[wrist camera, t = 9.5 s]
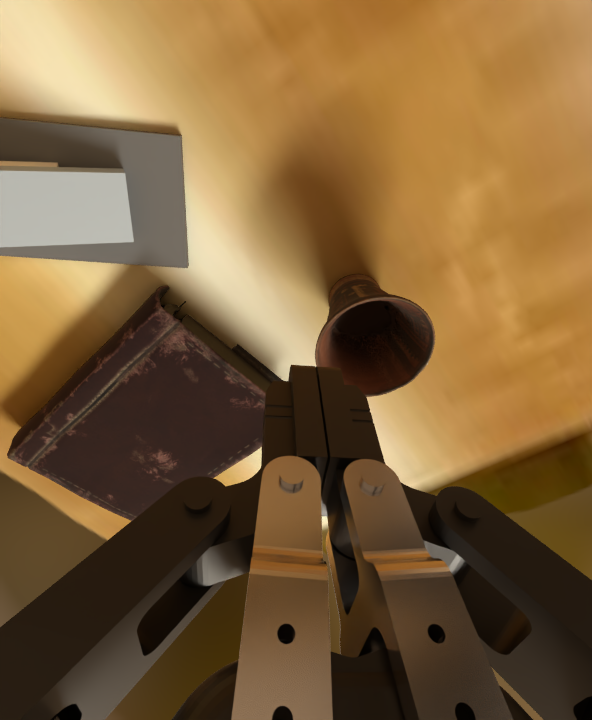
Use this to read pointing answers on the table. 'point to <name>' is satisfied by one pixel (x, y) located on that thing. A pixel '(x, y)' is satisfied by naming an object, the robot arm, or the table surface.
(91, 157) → the mat
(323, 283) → the table surface
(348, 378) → the cup
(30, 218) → the domino
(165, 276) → the table surface
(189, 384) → the diary
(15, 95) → the table surface
